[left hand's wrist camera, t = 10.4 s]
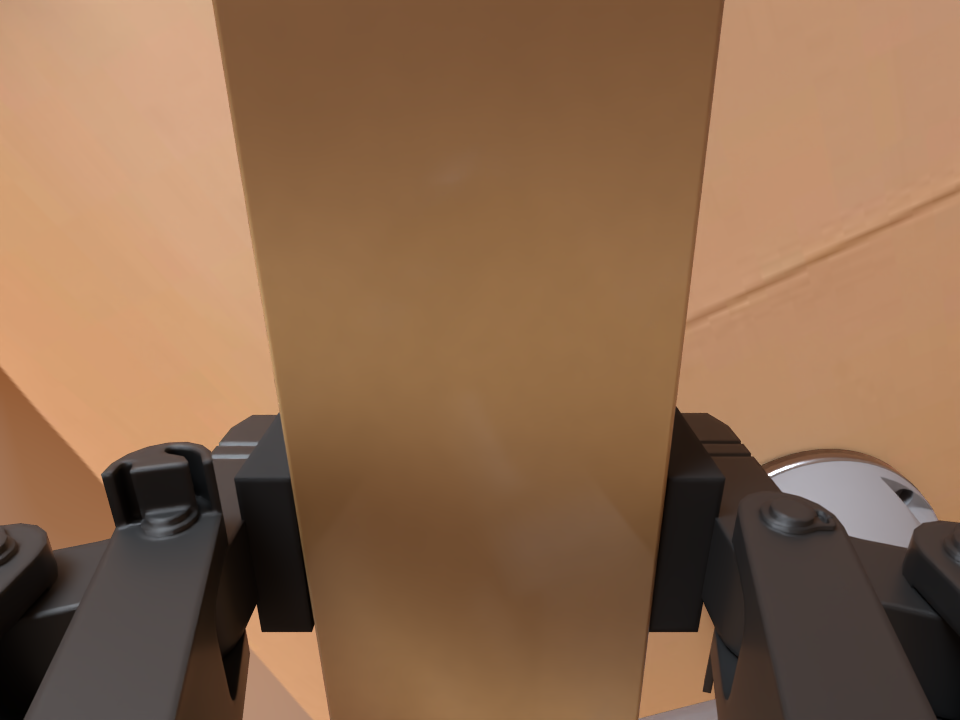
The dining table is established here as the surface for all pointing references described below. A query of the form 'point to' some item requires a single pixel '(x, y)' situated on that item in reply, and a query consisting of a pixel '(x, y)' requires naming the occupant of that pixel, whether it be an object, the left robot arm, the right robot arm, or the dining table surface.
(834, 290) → the dining table surface
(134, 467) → the left robot arm
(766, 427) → the dining table surface
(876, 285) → the dining table surface
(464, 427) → the post
